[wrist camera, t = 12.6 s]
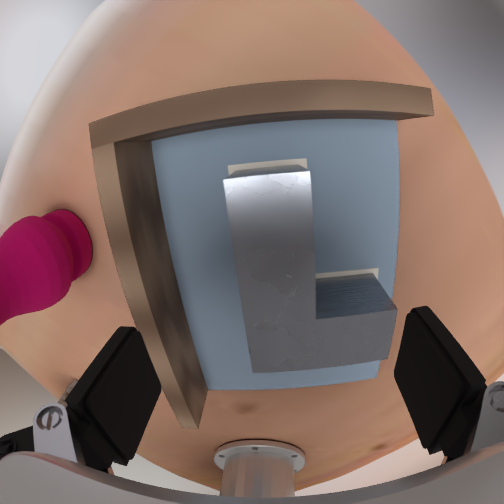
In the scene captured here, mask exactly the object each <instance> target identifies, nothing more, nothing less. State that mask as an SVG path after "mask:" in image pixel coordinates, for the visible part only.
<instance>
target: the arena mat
mask: <svg viewBox="0 0 504 504" xmlns="http://www.w3.org/2000/svg"><path fill="white" fill-rule="evenodd" d="M151 144H152V151H153V159H154V165H155V172H156V178H157V185H158V191H159V196H160V202H161V208H162V213H163V218H164V223H165V229H166V234H167V238H168V243H169V248H170V253H171V257H172V262H173V266H174V270H175V275H176V279H177V283H178V287H179V291H180V295H181V299H182V303H183V307H184V311H185V314H186V318H187V322H188V325H189V329H190V333H191V336H192V339H193V343H194V346H195V350H196V353H197V356H198V360H199V363H200V366H201V369H202V372H203V376H204V379H205V382H206V385H207V388H208V390H266V389H286V388H300V387H311V386H321V385H330V384H338V383H346V382H353V381H359V380H365V379H371V378H377V374H378V370H379V366H380V361H381V360H378V361H372V362H366V363H360V364H353V365H346V366H338V367H330V368H321V369H312V370H300V371H287V372H271V373H252V367H251V361H250V355H249V349H248V343H247V337H246V331H245V324H244V318H243V312H242V305H241V299H240V293H239V286H238V280H237V273H236V266H235V260H234V253H233V246H232V239H231V232H230V225H229V218H228V211H227V204H226V197H225V190H224V182H223V179H225V178H226V177H228V176H229V175H230V174H232V173H233V172H235V171H236V170H245V169H254V168H264V167H275V166H286V165H301V166H302V167H304V168H306V169H307V170H309V171H310V179H311V192H312V208H313V225H314V248H315V279H316V278H327V277H338V276H348V275H358V274H367V273H373V274H374V275H375V277H376V278H377V280H378V281H379V282H380V284H381V285H382V287H383V288H384V290H385V291H386V293H387V294H388V296H389V297H390V299H391V300H392V296H393V288H394V280H395V271H396V261H397V249H398V233H399V208H400V174H399V149H398V134H397V123H396V121H395V120H376V119H314V120H294V121H280V122H268V123H258V124H248V125H240V126H232V127H225V128H218V129H212V130H206V131H200V132H194V133H188V134H183V135H178V136H173V137H168V138H164V139H159V140H155V141H151Z"/></svg>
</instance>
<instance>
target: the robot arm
mask: <svg viewBox="0 0 504 504" xmlns="http://www.w3.org/2000/svg"><path fill="white" fill-rule="evenodd" d="M394 377H395V380H396V383H397V385H398V387H399V390H400V392H401V394H402V397H403V399H404V401H405V404H406V406H407V408H408V411H409V413H410V416H411V418H412V421H413V423H414V426H415V428H416V431H417V434H418V436H419V439H420V441H421V444H422V446H423V448H425V449H426V448H427V449H428V452H429V454H430V455H431V454H434V453H436V452H439V451H443V453H444V459H443V461H442V464H441V465H440V466H437V467H434V468H432V469H429V470H426V471H423V472H420V473H417V474H413V475H410V476H407V477H404V478H400V479H397V480H393V481H390V482H385V483H382V484H377V485H373V486H369V487H364V488H359V489H354V490H348V491H342V492H335V493H328V494H320V495H311V496H300V497H294V473H296V472H298V471H299V470H301V469H302V468H303V467H304V465H305V455H304V453H303V452H302V451H301V450H300V449H298V448H296V447H294V446H292V445H289V444H286V443H282V442H276V441H268V440H243V441H236V442H232V443H228V444H225V445H223V446H221V447H219V448H218V449H217V450H216V451H215V455H214V462H215V464H216V465H217V466H218V467H219V468H220V469H222V470H223V477H222V483H221V489H220V496H216V495H206V494H197V493H190V492H183V491H178V490H171V489H166V488H162V487H157V486H152V485H148V484H143V483H140V482H136V481H132V480H129V479H125V478H122V477H118V476H115V475H114V473H113V470H112V467H111V464H112V462H115V463H118V464H121V465H125V466H127V464H128V462H129V460H131V459H133V458H134V456H135V453H136V451H137V448H138V446H139V443H140V441H141V438H142V436H143V433H144V431H145V428H146V426H147V424H148V421H149V419H150V416H151V414H152V412H153V409H154V407H155V405H156V402H157V400H158V397H159V395H160V393H161V383H160V380H159V378H158V376H157V373H156V371H155V368H154V366H153V363H152V361H151V358H150V356H149V353H148V351H147V348H146V345H145V343H144V340H143V337H142V334H141V333H140V331H137V329H136V328H135V327H123V326H121V327H119V328H118V329H117V330H116V331H115V333H114V334H113V335H112V337H111V338H110V339H109V340H108V342H107V343H106V344H105V346H104V347H103V348H102V350H101V351H100V352H99V354H98V355H97V356H96V357H95V359H94V360H93V362H92V363H91V364H90V366H89V367H88V368H87V370H86V371H85V372H84V374H83V375H82V376H81V378H80V379H79V381H78V382H77V383H76V385H75V386H74V388H73V389H72V390H71V392H70V393H69V395H68V396H67V397H66V399H65V402H66V403H67V407H66V408H65V407H64V406H63V405H61V404H59V403H50V404H47V405H44V406H42V407H41V408H40V409H39V410H38V411H37V412H36V414H35V416H34V418H33V426H31V427H27V428H24V429H22V430H18V431H16V432H12V433H9V434H6V435H4V436H2V437H1V438H0V504H504V382H503V381H498V382H494V383H492V384H490V385H489V386H488V387H487V386H486V384H485V381H486V380H485V378H484V377H483V375H482V374H481V372H480V371H479V370H478V368H477V367H476V366H475V364H474V363H473V361H472V360H471V359H470V357H469V356H468V355H467V353H466V352H465V351H464V350H463V348H462V347H461V346H460V344H459V343H458V342H457V341H456V339H455V338H454V337H453V336H452V334H451V333H450V332H449V331H448V329H447V328H446V327H445V326H444V324H443V323H442V322H441V321H440V320H439V318H438V317H437V316H436V315H435V314H434V313H433V311H432V310H431V309H430V308H429V307H428V306H422V307H417V308H413V309H412V310H411V311H410V313H408V314H407V316H406V320H405V325H404V330H403V335H402V340H401V344H400V349H399V353H398V357H397V361H396V365H395V369H394Z"/></svg>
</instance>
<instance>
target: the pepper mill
mask: <svg viewBox="0 0 504 504" xmlns="http://www.w3.org/2000/svg"><path fill="white" fill-rule="evenodd" d="M91 259H92V245H91V240H90V237H89V234H88V231H87V229H86V228H85V226H84V224H83V223H82V221H81V220H80V219H79V218H78V217H77V216H76V215H74V214H73V213H72V212H70V211H67V210H56V211H53V212H51V213H49V214H46V215H44V216H42V217H38V216H28V217H25V218H22V219H21V220H19V221H17V222H15V223H14V224H13V225H12V226H10V227H9V228H8V229H7V230H6V231H5V232H4V234H3V235H2V236H1V238H0V325H1V324H2V323H4V322H5V321H6V320H8V319H10V318H12V317H15V316H17V315H21V314H26V313H31V312H36V311H40V310H43V309H46V308H48V307H51V306H53V305H54V304H56V303H57V302H58V301H60V300H61V299H63V298H64V297H65V295H66V294H67V293H68V291H69V288H70V286H71V283H72V281H74V280H76V279H77V278H78V277H79V276H81V275H82V274H83V273H84V272H85V271H86V270H87V269H88V267H89V265H90V263H91Z"/></svg>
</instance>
